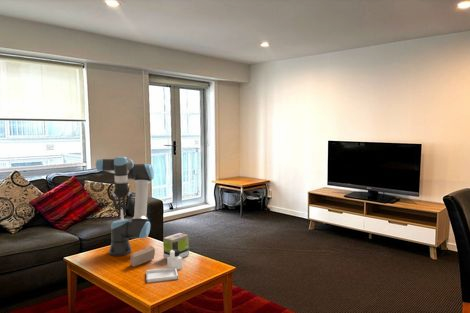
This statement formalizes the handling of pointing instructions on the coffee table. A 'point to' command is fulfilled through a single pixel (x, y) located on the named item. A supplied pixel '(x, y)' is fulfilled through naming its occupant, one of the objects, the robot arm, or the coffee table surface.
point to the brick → (142, 256)
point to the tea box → (176, 244)
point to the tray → (161, 274)
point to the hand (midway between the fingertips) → (122, 220)
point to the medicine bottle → (175, 260)
